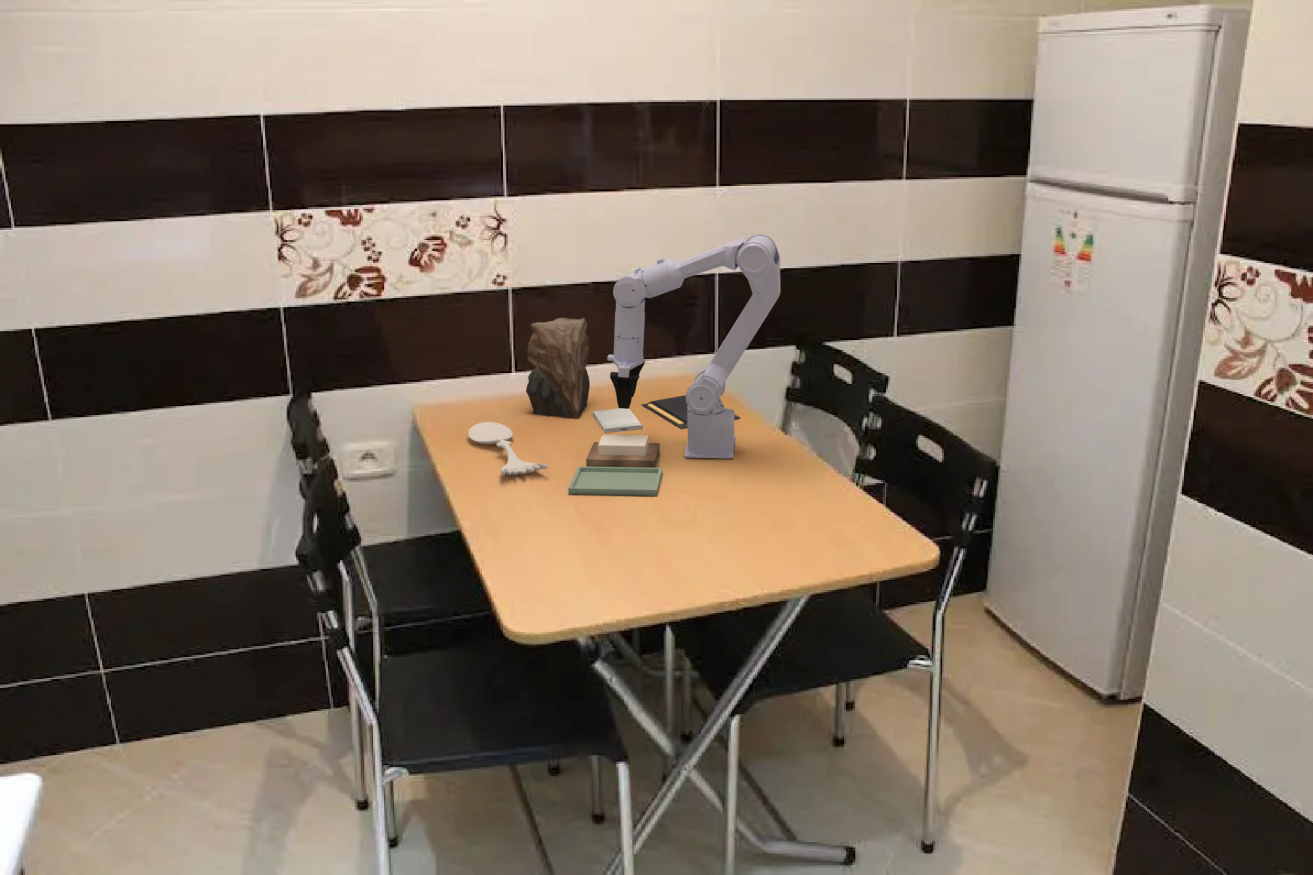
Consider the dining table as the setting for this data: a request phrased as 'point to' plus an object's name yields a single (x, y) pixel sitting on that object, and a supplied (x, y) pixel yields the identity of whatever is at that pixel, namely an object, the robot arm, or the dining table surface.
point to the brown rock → (559, 368)
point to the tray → (616, 481)
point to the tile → (623, 445)
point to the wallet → (672, 410)
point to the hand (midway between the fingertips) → (626, 402)
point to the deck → (624, 458)
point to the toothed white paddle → (502, 446)
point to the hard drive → (617, 420)
